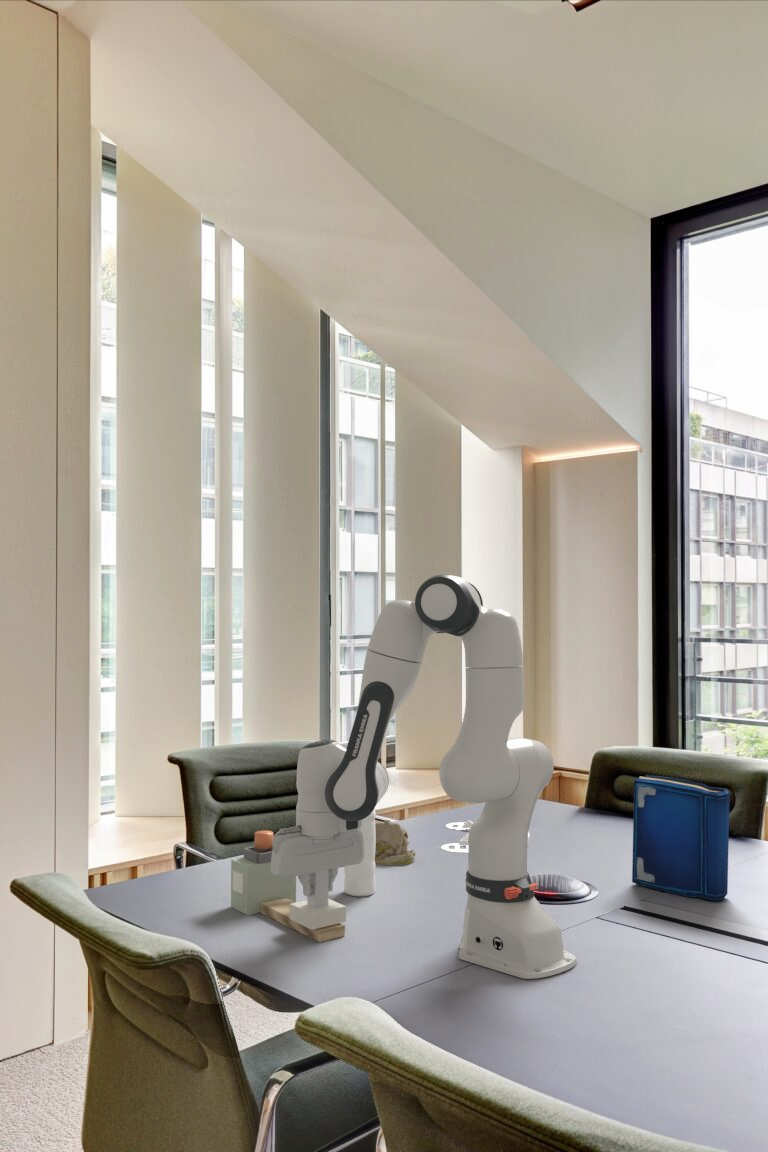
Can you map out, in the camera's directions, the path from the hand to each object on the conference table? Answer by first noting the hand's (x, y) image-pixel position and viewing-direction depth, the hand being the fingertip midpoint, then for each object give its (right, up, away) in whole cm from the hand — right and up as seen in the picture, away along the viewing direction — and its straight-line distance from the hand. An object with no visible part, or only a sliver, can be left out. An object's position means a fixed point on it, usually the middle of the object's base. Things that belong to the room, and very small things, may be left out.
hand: (317, 893), depth 187 cm
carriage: (0, -5, 0) cm, 5 cm away
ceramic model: (+14, -10, +55) cm, 57 cm away
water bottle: (+8, -9, +26) cm, 28 cm away
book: (+81, -9, +28) cm, 86 cm away
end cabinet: (-13, -8, +16) cm, 22 cm away
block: (-4, -8, +5) cm, 10 cm away
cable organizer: (+42, -11, +78) cm, 89 cm away
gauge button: (-13, +4, +17) cm, 22 cm away
